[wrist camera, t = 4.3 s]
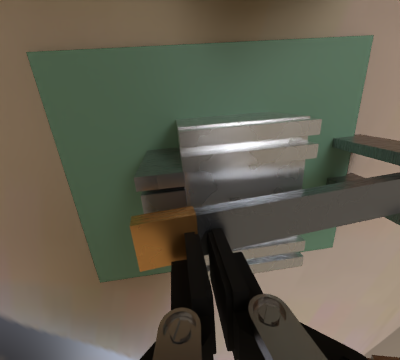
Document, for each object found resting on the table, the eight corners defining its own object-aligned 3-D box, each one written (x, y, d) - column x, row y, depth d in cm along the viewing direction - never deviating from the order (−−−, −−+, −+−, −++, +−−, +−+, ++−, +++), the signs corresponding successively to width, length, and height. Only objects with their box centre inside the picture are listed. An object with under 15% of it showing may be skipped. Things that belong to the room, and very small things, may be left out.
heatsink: (143, 121, 16) (117, 139, 8) (366, 103, 18) (517, 103, 10) (160, 229, 20) (153, 312, 12) (346, 204, 22) (445, 262, 14)
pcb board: (30, 53, 14) (26, 52, 14) (369, 36, 16) (373, 35, 16) (101, 279, 21) (100, 282, 21) (329, 245, 23) (332, 247, 23)
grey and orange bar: (131, 213, 10) (129, 229, 9) (429, 163, 14) (457, 169, 12) (140, 255, 11) (139, 275, 10) (416, 199, 15) (442, 208, 13)
